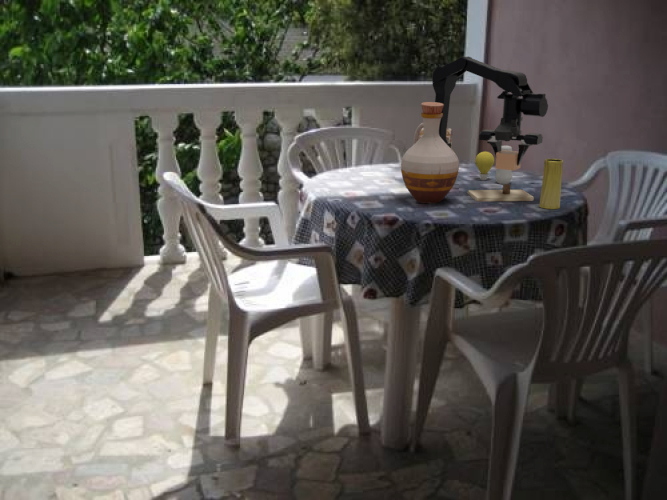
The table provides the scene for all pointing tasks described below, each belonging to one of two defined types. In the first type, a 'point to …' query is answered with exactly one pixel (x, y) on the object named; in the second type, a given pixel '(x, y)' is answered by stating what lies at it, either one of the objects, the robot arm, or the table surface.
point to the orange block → (507, 160)
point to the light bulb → (484, 164)
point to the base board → (500, 195)
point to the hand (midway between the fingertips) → (508, 164)
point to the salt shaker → (504, 171)
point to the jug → (429, 160)
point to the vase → (551, 184)
